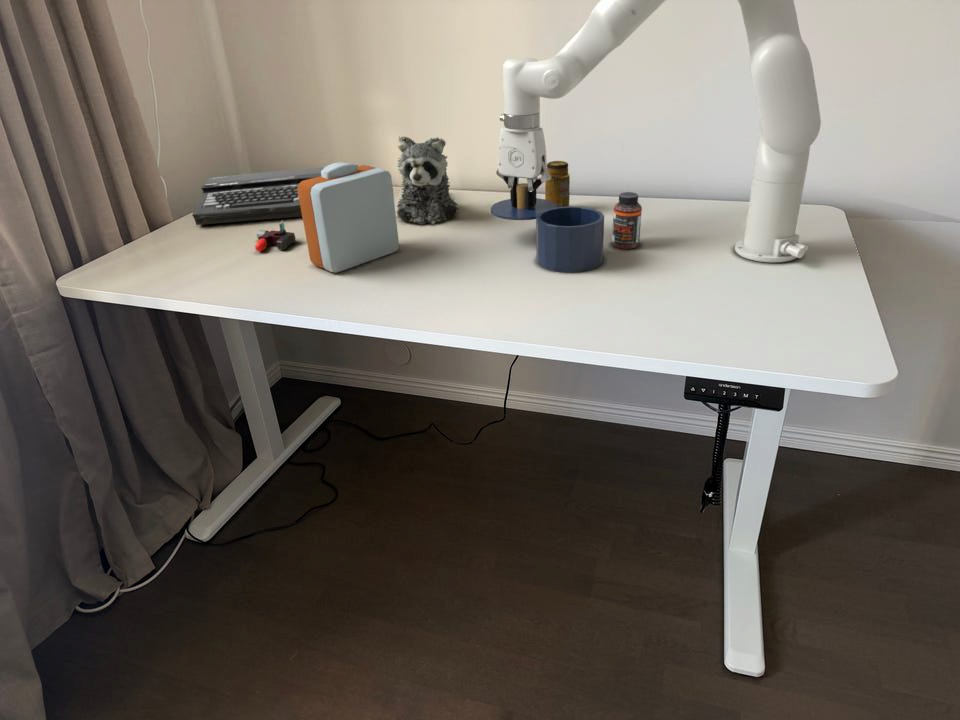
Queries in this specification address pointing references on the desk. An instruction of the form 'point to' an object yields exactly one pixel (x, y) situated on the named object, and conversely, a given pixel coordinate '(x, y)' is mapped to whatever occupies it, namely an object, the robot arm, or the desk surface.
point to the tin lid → (520, 206)
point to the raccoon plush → (424, 182)
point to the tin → (569, 239)
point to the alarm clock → (348, 215)
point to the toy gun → (275, 238)
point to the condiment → (558, 183)
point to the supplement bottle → (626, 221)
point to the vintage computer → (252, 196)
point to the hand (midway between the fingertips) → (523, 205)
